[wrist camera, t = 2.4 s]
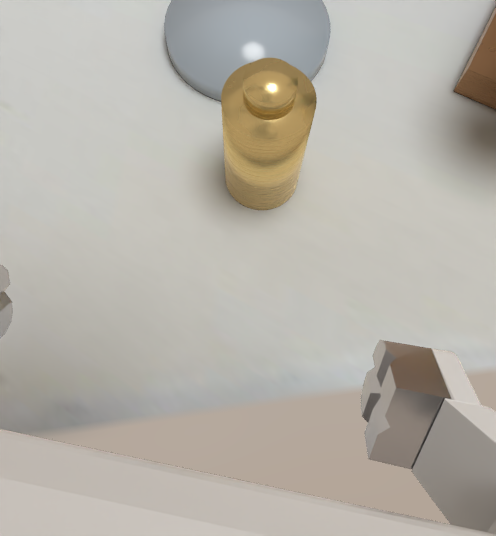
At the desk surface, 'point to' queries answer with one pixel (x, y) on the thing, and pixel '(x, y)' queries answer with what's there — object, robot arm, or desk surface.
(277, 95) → the brass weight
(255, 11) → the grey glossy dome
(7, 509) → the robot arm
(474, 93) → the balance
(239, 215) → the desk surface
